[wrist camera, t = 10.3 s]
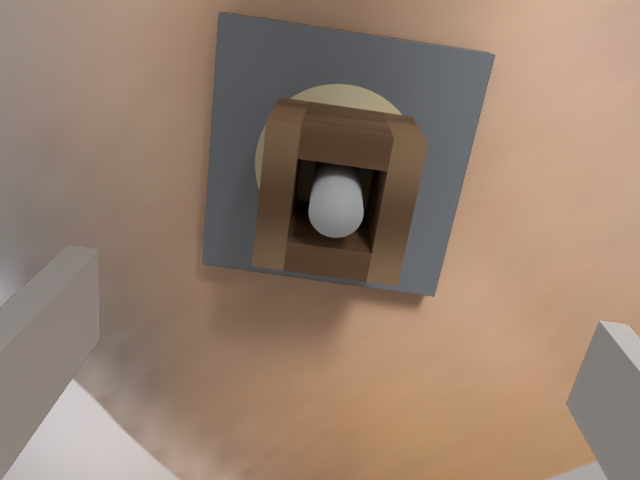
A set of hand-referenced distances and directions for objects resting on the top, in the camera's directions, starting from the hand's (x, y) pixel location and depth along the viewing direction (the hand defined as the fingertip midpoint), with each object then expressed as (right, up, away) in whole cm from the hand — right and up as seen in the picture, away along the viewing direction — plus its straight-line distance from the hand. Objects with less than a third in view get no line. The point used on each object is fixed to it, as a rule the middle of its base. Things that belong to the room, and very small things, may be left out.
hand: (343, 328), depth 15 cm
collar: (0, +6, +16) cm, 17 cm away
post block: (0, +7, +17) cm, 19 cm away
